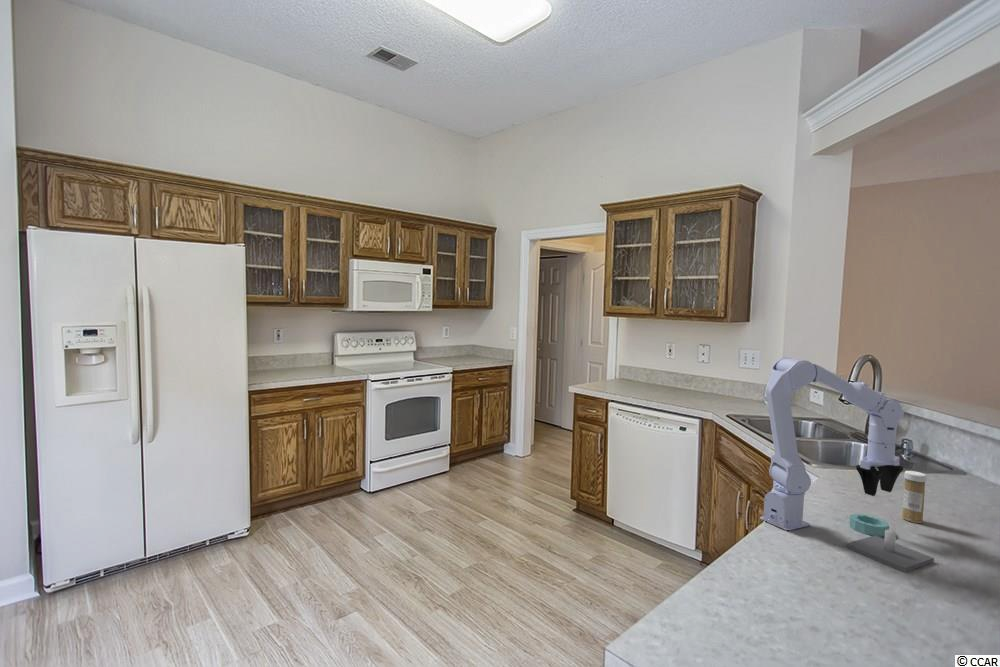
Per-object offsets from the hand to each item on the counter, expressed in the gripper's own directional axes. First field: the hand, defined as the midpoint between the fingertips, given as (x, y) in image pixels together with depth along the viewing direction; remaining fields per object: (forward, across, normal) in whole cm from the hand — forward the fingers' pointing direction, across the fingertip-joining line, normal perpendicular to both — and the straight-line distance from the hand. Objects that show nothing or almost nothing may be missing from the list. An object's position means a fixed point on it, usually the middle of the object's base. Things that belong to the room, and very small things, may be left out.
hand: (878, 492), depth 128 cm
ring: (+9, -3, 0) cm, 10 cm away
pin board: (+9, -14, -10) cm, 20 cm away
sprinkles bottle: (+10, +16, -1) cm, 18 cm away
